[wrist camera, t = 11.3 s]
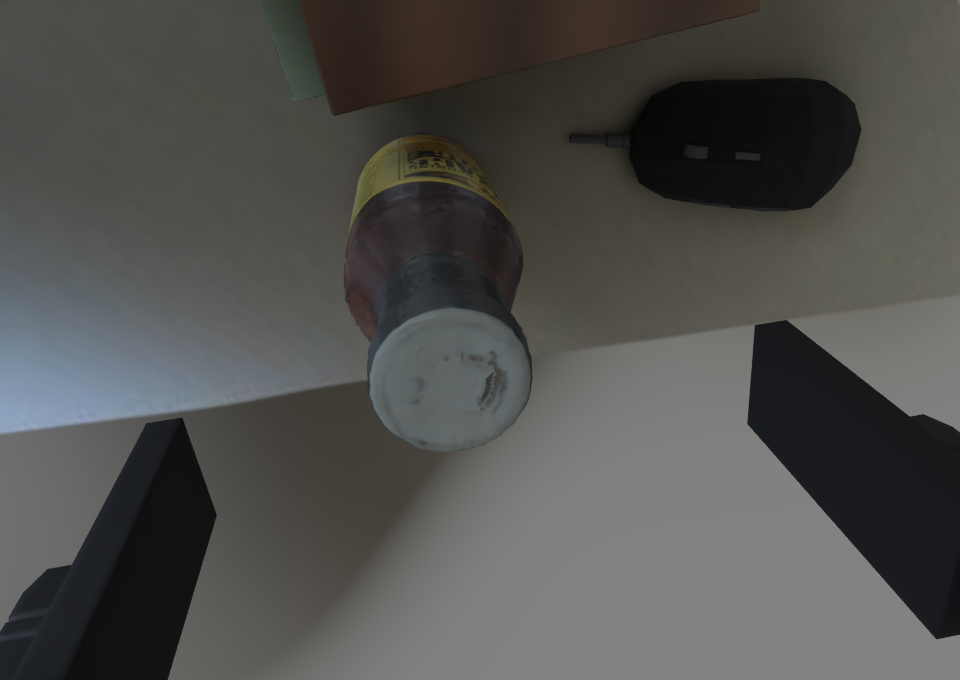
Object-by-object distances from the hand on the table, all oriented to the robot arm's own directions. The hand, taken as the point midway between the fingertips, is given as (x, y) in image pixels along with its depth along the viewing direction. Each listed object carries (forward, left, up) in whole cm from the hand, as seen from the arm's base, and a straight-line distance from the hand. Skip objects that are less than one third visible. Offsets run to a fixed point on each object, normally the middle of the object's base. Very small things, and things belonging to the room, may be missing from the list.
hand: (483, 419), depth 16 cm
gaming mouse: (+15, +1, -21) cm, 26 cm away
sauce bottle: (0, 0, -21) cm, 21 cm away
